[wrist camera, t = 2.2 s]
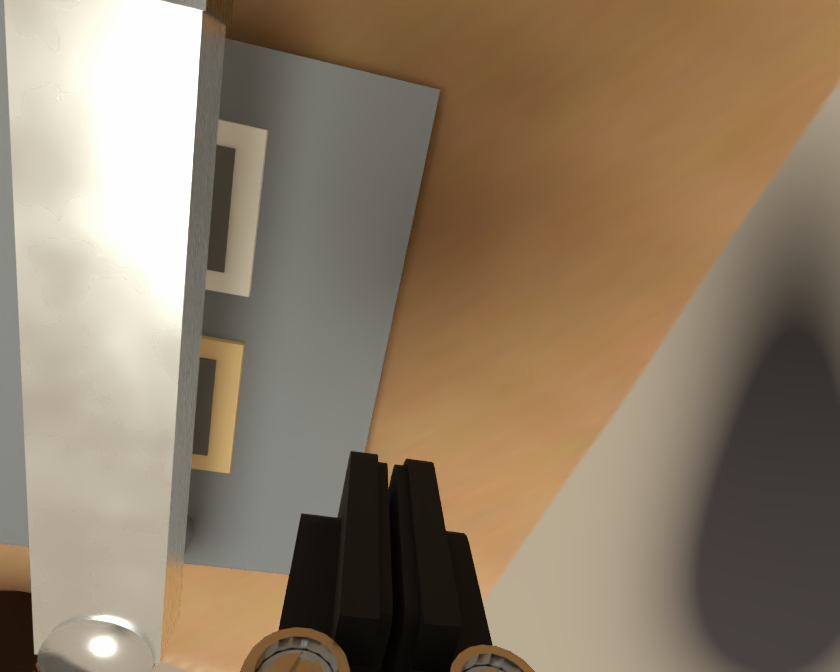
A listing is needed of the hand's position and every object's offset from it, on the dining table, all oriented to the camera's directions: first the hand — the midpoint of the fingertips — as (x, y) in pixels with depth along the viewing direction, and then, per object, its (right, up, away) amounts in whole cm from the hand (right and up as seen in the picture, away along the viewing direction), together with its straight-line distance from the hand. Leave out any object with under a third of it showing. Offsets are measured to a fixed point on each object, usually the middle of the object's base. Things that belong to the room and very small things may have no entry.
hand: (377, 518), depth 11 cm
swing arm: (-8, +2, +6) cm, 10 cm away
